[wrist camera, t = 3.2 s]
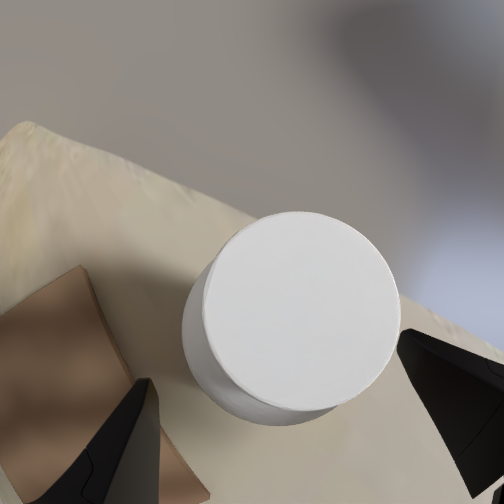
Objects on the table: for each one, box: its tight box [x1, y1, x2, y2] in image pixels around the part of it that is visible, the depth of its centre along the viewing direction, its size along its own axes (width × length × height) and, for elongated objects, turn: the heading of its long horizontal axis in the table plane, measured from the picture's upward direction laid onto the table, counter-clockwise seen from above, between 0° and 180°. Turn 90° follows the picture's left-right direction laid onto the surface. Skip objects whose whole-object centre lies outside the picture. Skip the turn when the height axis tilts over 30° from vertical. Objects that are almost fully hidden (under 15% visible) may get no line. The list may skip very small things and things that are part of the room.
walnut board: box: [0, 265, 210, 504], centre depth 14 cm, size 18×16×1 cm
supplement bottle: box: [182, 211, 400, 426], centre depth 12 cm, size 7×7×13 cm
